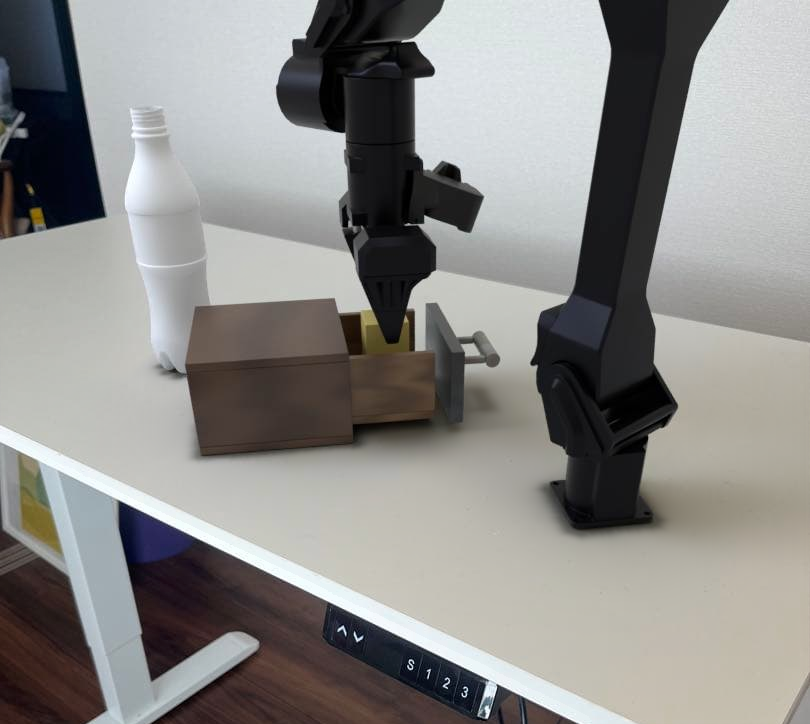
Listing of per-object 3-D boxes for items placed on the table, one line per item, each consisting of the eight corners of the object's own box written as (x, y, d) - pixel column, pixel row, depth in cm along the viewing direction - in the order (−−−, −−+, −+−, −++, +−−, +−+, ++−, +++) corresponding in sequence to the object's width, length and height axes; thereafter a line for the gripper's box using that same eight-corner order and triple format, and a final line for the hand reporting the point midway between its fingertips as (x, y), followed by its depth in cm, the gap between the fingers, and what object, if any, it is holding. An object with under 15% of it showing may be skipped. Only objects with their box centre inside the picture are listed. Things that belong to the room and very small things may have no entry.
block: (409, 393, 78) (409, 322, 74) (368, 396, 77) (365, 324, 73) (403, 377, 81) (402, 307, 77) (363, 379, 80) (360, 310, 77)
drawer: (475, 363, 86) (478, 299, 83) (507, 418, 75) (512, 348, 72) (317, 374, 84) (312, 310, 81) (327, 433, 74) (321, 361, 70)
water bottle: (142, 370, 88) (88, 111, 74) (186, 348, 93) (144, 101, 79) (194, 382, 85) (149, 115, 71) (237, 359, 91) (202, 105, 76)
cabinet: (339, 378, 86) (334, 297, 81) (353, 443, 74) (348, 352, 69) (208, 388, 84) (194, 306, 79) (200, 455, 72) (184, 363, 67)
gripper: (505, 155, 60) (494, 357, 69) (454, 120, 75) (451, 289, 84) (354, 161, 59) (363, 366, 68) (333, 124, 74) (343, 295, 83)
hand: (385, 325), depth 76 cm, fingers open, 9 cm apart
